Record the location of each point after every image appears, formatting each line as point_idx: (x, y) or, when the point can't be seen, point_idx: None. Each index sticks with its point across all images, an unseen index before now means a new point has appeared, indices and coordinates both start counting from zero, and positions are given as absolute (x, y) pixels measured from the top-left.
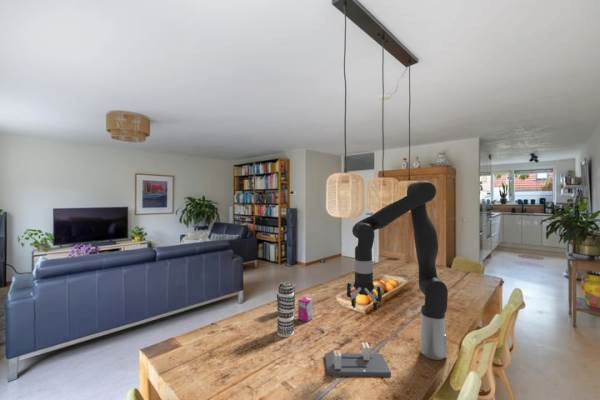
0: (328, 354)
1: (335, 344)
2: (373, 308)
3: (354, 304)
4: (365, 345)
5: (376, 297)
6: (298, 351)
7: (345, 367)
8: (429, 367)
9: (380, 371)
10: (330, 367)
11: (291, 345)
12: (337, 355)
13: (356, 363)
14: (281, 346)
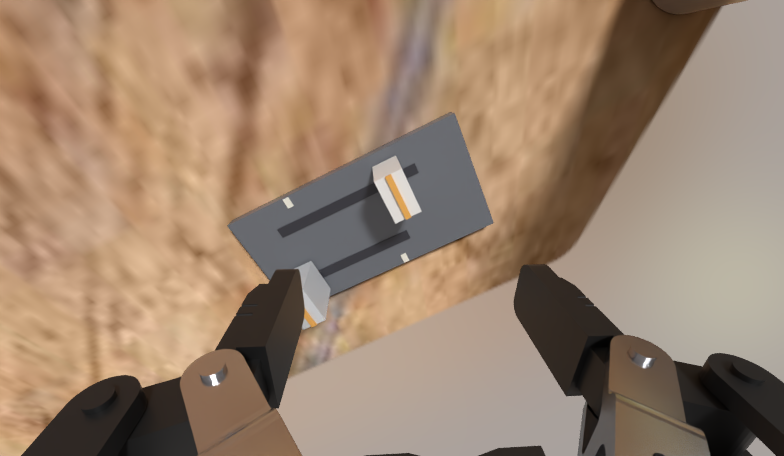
0: (244, 227)
1: (217, 99)
2: (527, 331)
3: (295, 344)
4: (398, 204)
5: (675, 393)
6: (114, 235)
7: (339, 270)
8: (639, 92)
9: (458, 234)
10: None
11: (48, 210)
12: (311, 326)
13: (368, 231)
14: (20, 237)
